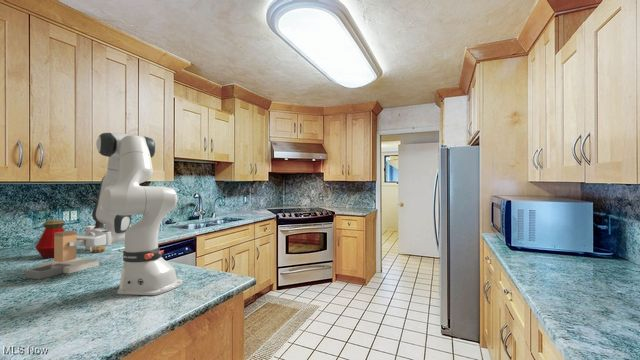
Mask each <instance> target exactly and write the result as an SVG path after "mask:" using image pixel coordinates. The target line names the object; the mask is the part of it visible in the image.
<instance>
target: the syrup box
mask: <svg viewBox="0 0 640 360" xmlns="http://www.w3.org/2000/svg"><path fill="white" fill-rule="evenodd" d="M94 227H95V224H90V225H87V226H86V225H85V229H84V230H85V232H84V233H85V234H84V235H86V234H87V233H88V232H89V231H90V230H91V229H93V228H94ZM84 247H85V250H86V251H91V252H92V249H91V248H92V247H90V246H84Z"/></svg>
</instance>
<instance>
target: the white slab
mask: <svg viewBox="0 0 640 360" xmlns="http://www.w3.org/2000/svg"><path fill="white" fill-rule="evenodd" d="M98 266H100V259H93V258H92V259H90V258H80V257H78V258H77V257H76V259H73V260H69V261H65V262H57V261H54V260H53V261H48V262H44V263H39V264H37V267H33V268H30V269H26V270H24V278H25V279H26V278H27V279H34V280H35V279H36V280H42V279H46V278H49V277H54V276H57V275H60V274H61V275H62V274H68V275H69V274H73V273H77V272H80V271H84V270H87V269H90V268H95V267H98Z"/></svg>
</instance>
